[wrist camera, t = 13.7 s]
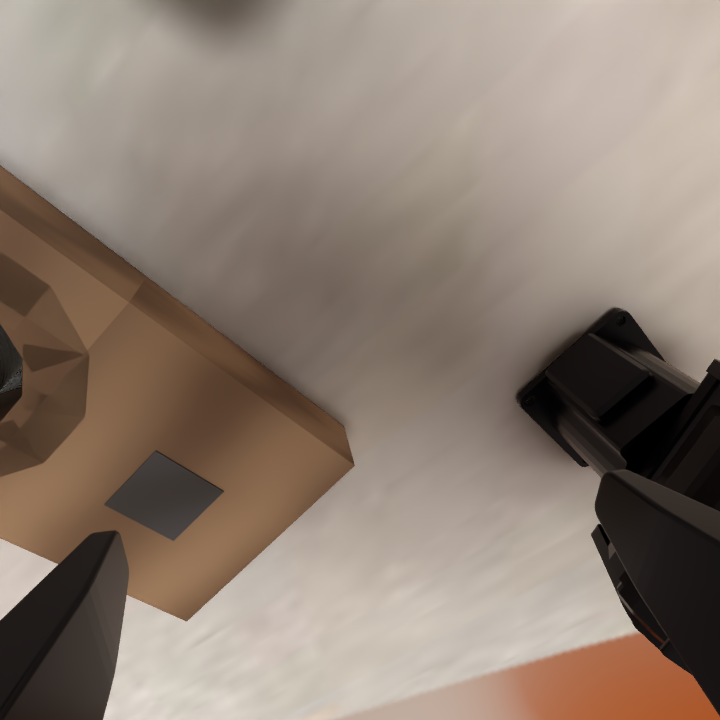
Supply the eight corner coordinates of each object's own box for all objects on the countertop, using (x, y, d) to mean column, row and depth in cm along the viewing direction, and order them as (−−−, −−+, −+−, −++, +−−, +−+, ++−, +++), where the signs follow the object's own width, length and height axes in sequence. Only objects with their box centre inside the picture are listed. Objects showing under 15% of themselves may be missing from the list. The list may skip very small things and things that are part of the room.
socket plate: (343, 426, 24) (355, 466, 21) (194, 569, 26) (186, 622, 23) (-84, 102, 16) (-154, 99, 13) (-252, 346, 18) (-344, 387, 15)
